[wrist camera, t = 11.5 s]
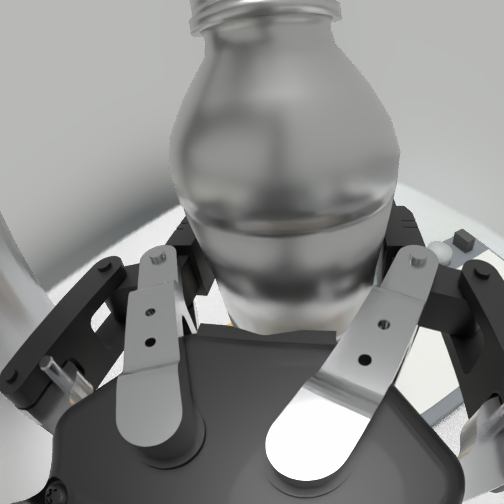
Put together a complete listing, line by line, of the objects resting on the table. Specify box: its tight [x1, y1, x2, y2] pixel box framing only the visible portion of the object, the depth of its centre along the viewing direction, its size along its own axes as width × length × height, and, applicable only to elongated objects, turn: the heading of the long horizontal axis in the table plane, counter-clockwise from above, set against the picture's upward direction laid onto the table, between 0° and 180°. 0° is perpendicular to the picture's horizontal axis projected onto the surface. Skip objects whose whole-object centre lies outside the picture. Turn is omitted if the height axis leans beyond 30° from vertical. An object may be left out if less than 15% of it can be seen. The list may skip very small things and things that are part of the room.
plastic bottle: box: [169, 0, 400, 342], centre depth 11 cm, size 6×7×20 cm
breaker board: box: [227, 229, 504, 427], centre depth 21 cm, size 30×14×3 cm, turn 109°
